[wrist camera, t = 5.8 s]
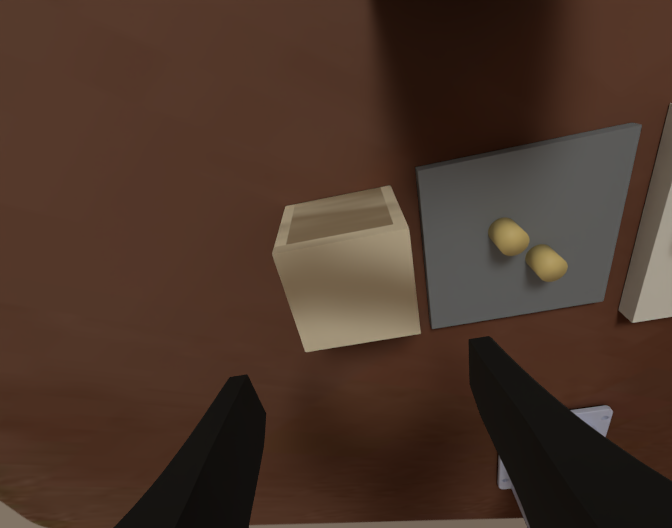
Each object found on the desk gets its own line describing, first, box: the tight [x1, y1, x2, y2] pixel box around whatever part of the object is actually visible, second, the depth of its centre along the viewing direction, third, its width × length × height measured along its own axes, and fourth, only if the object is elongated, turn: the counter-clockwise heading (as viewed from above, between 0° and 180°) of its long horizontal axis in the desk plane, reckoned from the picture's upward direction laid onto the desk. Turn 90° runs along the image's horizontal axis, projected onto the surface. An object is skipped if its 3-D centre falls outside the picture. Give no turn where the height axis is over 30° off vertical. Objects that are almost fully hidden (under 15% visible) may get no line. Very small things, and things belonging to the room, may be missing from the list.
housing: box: [272, 185, 421, 352], centre depth 17 cm, size 5×5×5 cm
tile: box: [415, 123, 642, 329], centre depth 19 cm, size 10×10×2 cm
